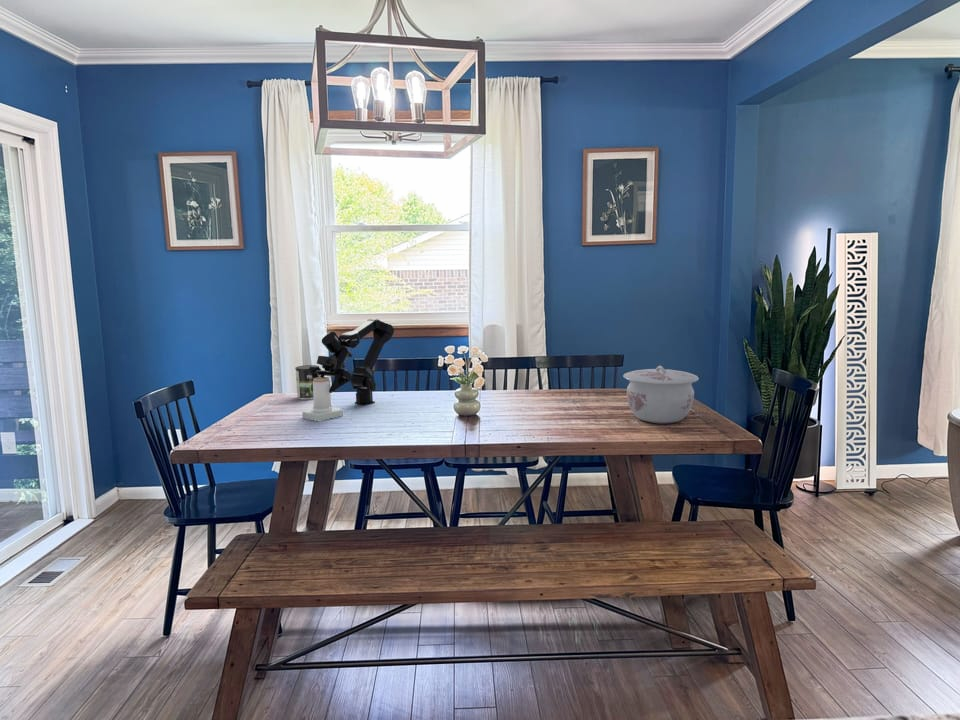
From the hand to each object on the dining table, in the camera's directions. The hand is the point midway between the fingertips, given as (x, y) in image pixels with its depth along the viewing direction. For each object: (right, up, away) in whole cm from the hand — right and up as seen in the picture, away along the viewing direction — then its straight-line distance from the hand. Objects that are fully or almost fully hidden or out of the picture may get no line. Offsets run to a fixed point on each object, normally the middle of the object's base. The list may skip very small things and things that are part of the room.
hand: (320, 391), depth 250 cm
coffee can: (-15, -5, +39) cm, 42 cm away
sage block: (0, -10, +2) cm, 10 cm away
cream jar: (0, -8, +2) cm, 8 cm away
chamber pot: (+131, -10, -9) cm, 132 cm away
